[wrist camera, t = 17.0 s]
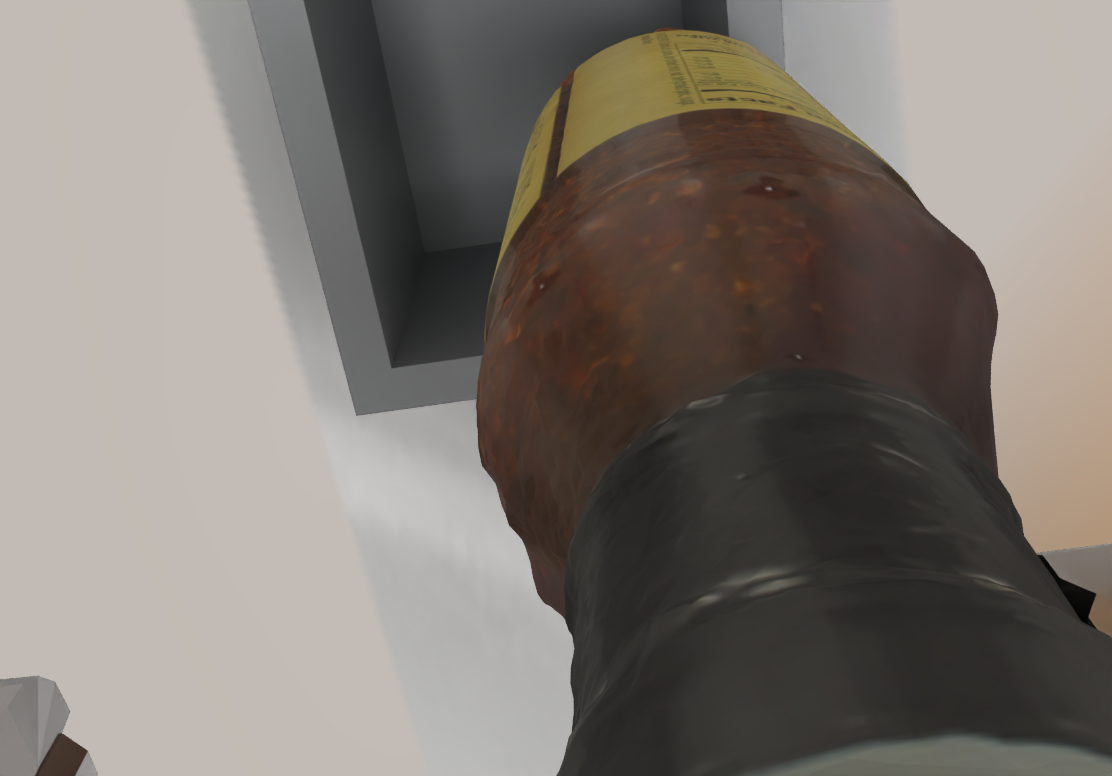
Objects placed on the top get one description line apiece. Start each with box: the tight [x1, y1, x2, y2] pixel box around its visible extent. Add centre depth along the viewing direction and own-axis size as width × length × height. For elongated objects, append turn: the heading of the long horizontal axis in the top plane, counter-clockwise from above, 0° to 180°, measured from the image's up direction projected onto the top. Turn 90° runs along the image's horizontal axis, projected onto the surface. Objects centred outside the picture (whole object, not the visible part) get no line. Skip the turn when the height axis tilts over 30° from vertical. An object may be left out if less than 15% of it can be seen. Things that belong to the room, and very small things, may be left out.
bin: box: [248, 0, 785, 416], centre depth 29 cm, size 12×12×10 cm
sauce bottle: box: [476, 28, 1112, 776], centre depth 15 cm, size 7×6×20 cm
